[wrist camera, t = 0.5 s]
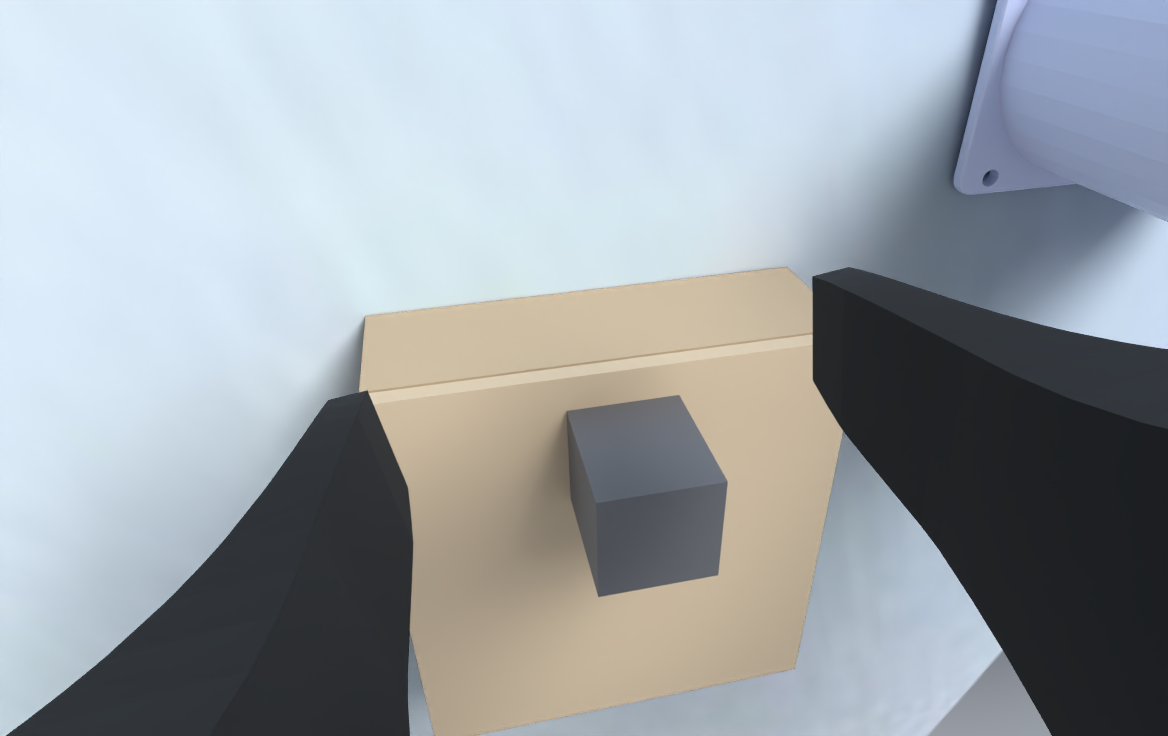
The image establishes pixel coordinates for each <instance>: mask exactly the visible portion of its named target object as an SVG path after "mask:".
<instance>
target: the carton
mask: <svg viewBox="0 0 1168 736" xmlns="http://www.w3.org/2000/svg"><path fill="white" fill-rule="evenodd" d="M811 334H813V291H812V290H811V289H810V288H809V287H808V286H807V285H806V284H805V283H804V282H803V281H802V280H801V279H799V278H798V277H797V276H796V275H795V274H794V273H793V272H792V271H791V270H790V269H789V268H788V267H782V268H774V269H765V270H757V271H748V272H739V273H731V274H722V275H714V276H705V277H696V278H688V279H679V280H671V281H662V282H654V283H645V284H636V285H628V286H619V287H611V288H602V289H594V290H585V291H576V292H568V293H559V294H551V295H542V296H534V297H525V298H516V299H508V300H499V301H491V302H482V303H474V304H465V305H456V306H448V307H439V308H431V309H422V310H414V311H405V312H396V313H388V314H379V315H371V316H365V328H364V339H363V351H362V362H361V374H360V386H359V392H363V391H366V390H368V393H374V392H382V391H389V390H397V389H404V388H412V387H419V386H427V385H434V384H442V383H449V382H457V381H464V380H472V379H480V378H487V377H495V376H502V375H510V374H517V373H525V372H532V371H540V370H547V369H555V368H562V367H570V366H578V365H585V364H593V363H600V362H608V361H615V360H623V359H630V358H638V357H645V356H653V355H660V354H668V353H676V352H683V351H691V350H698V349H706V348H713V347H721V346H728V345H736V344H743V343H751V342H758V341H766V340H774V339H781V338H789V337H796V336H804V335H811Z"/></svg>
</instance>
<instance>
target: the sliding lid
mask: <svg viewBox="0 0 1168 736" xmlns="http://www.w3.org/2000/svg"><path fill="white" fill-rule="evenodd" d="M369 395H370V397H371V400H372V402H373V405H374V407H375V409H376V412H377V414H378V417H379V419H380V421H381V424H382V426H383V429H384V431H385V433H386V436H387V438H388V441H389V443H390V445H391V448H392V450H393V453H394V455H395V457H396V460H397V462H398V464H399V467H400V469H401V472H402V474H403V476H404V479H405V481H406V484H407V486H408V491H409V500H410V510H411V520H412V532H413V569H412V593H411V614H410V634H411V638H412V642H413V647H414V651H415V655H416V660H417V664H418V668H419V672H420V677H421V681H422V685H423V690H424V694H425V698H426V703H427V707H428V711H429V716H430V720H431V724H432V729H433V733H434V736H475V735H480V734H485V733H489V732H494V731H499V730H504V729H509V728H514V727H518V726H523V725H528V724H533V723H538V722H542V721H547V720H552V719H557V718H562V717H566V716H571V715H576V714H581V713H586V712H590V711H595V710H600V709H605V708H610V707H614V706H619V705H624V704H629V703H634V702H639V701H643V700H648V699H653V698H658V697H663V696H667V695H672V694H677V693H682V692H687V691H691V690H696V689H701V688H706V687H711V686H715V685H720V684H725V683H730V682H735V681H739V680H744V679H749V678H754V677H759V676H763V675H768V674H773V673H778V672H783V671H788V670H792V669H795V667H796V662H797V657H798V652H799V647H800V642H801V637H802V632H803V627H804V622H805V617H806V612H807V607H808V602H809V597H810V592H811V587H812V582H813V578H814V573H815V568H816V563H817V558H818V553H819V548H820V543H821V538H822V533H823V528H824V523H825V518H826V513H827V508H828V503H829V498H830V493H831V489H832V484H833V479H834V474H835V469H836V464H837V459H838V454H839V449H840V444H841V439H842V434H843V430H842V429H841V427H840V426H839V424H838V422H837V421H836V419H835V418H834V416H833V414H832V413H831V411H830V410H829V408H828V406H827V405H826V403H825V401H824V399H823V398H822V396H821V394H820V392H819V391H818V389H817V387H816V385H815V384H814V382H813V334H811V335H804V336H796V337H789V338H781V339H774V340H766V341H758V342H751V343H743V344H736V345H728V346H721V347H713V348H706V349H698V350H691V351H683V352H676V353H668V354H660V355H653V356H645V357H638V358H630V359H623V360H615V361H608V362H600V363H593V364H585V365H578V366H570V367H562V368H555V369H547V370H540V371H532V372H525V373H517V374H510V375H502V376H495V377H487V378H480V379H472V380H464V381H457V382H449V383H442V384H434V385H427V386H419V387H412V388H404V389H397V390H389V391H382V392H374V393H369Z"/></svg>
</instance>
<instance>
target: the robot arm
mask: <svg viewBox="0 0 1168 736" xmlns="http://www.w3.org/2000/svg"><path fill="white" fill-rule="evenodd" d="M988 171H990V174H989V176H988V178H987V179H986V180H985V181H983V177H984V175H985V174H986V173H987V172H988ZM982 181H983V182H982ZM953 184H954V186H955V188H956V189H957V190H958V191H960V192H962V193H963V194H966V195H976V194H985V193H995V192H1004V191H1014V190H1023V189H1033V188H1042V187H1052V186H1062V185H1071V184H1079V185H1081V186H1084V187H1086V188H1089V189H1091V190H1093V191H1096V192H1098V193H1100V194H1103V195H1105V196H1108V197H1110V198H1112V199H1115V200H1117V201H1119V202H1122V203H1124V204H1127V205H1129V206H1131V207H1134V208H1136V209H1138V210H1141V211H1143V212H1146V213H1148V214H1150V215H1153V216H1155V217H1157V218H1160V219H1162V220H1165V221H1167V222H1168V0H997V4H996V8H995V12H994V16H993V20H992V24H991V28H990V32H989V36H988V40H987V44H986V49H985V53H984V57H983V61H982V65H981V69H980V73H979V77H978V81H977V85H976V89H975V93H974V97H973V101H972V105H971V110H970V114H969V118H968V122H967V126H966V130H965V134H964V138H963V142H962V146H961V150H960V154H959V158H958V162H957V166H956V171H955V175H954V182H953ZM812 284H813V382H814V384H815V385H816V387H817V389H818V391H819V392H820V394H821V396H822V398H823V399H824V401H825V403H826V405H827V406H828V408H829V410H830V411H831V413H832V414H833V416H834V418H835V419H836V421H837V422H838V424H839V426H840V427H841V429H842V430H843V431H844V432H845V434H846V435H847V436H848V437H849V439H850V440H851V441H852V442H853V444H854V445H855V446H856V447H857V449H858V450H859V451H860V452H861V454H862V455H863V456H864V457H865V459H866V460H867V461H868V462H869V463H870V465H871V466H872V467H873V468H874V470H875V471H876V472H877V473H878V474H879V476H880V477H881V478H882V479H883V480H884V482H885V483H886V484H887V485H888V486H889V488H890V489H891V490H892V491H893V493H894V494H895V495H896V496H897V497H898V499H899V500H900V501H901V502H902V503H903V505H904V506H905V507H906V508H907V509H908V511H909V512H910V513H911V514H912V516H913V517H914V518H915V519H916V520H917V522H918V523H919V524H920V525H921V526H922V528H923V529H924V530H925V532H926V533H927V534H928V536H929V537H930V538H931V540H932V541H933V542H934V544H935V545H936V546H937V548H938V549H939V550H940V552H941V553H942V555H943V557H944V558H945V560H946V561H947V563H948V564H949V566H950V567H951V569H952V570H953V572H954V573H955V575H956V576H957V578H958V579H959V581H960V583H961V584H962V586H963V587H964V589H965V590H966V592H967V593H968V595H969V596H970V598H971V599H972V601H973V602H974V604H975V606H976V607H977V609H978V611H979V612H980V614H981V615H982V617H983V619H984V620H985V622H986V624H987V625H988V627H989V628H990V630H991V632H992V633H993V635H994V637H995V638H996V640H997V641H998V643H999V645H1000V646H1001V648H1002V650H1003V651H1004V653H1005V654H1006V656H1007V658H1008V659H1009V661H1010V663H1011V665H1012V666H1013V668H1014V670H1015V672H1016V673H1017V675H1018V677H1019V679H1020V680H1021V682H1022V684H1023V686H1024V687H1025V689H1026V691H1027V693H1028V694H1029V696H1030V698H1031V700H1032V701H1033V703H1034V705H1035V706H1036V708H1037V710H1038V712H1039V713H1040V715H1041V717H1042V719H1043V720H1044V722H1045V724H1046V726H1047V728H1048V729H1049V731H1050V733H1051V735H1052V736H1168V349H1161V348H1154V347H1148V346H1142V345H1136V344H1130V343H1124V342H1119V341H1114V340H1109V339H1104V338H1099V337H1094V336H1089V335H1084V334H1079V333H1074V332H1069V331H1065V330H1060V329H1056V328H1052V327H1048V326H1044V325H1040V324H1036V323H1032V322H1029V321H1025V320H1021V319H1018V318H1014V317H1010V316H1007V315H1003V314H999V313H996V312H993V311H989V310H986V309H983V308H979V307H976V306H973V305H969V304H966V303H963V302H960V301H957V300H954V299H951V298H948V297H944V296H941V295H938V294H935V293H932V292H929V291H926V290H923V289H920V288H917V287H914V286H911V285H908V284H905V283H902V282H899V281H896V280H893V279H890V278H887V277H883V276H880V275H877V274H874V273H870V272H867V271H863V270H859V269H854V268H850V267H848V268H844V269H840V270H836V271H832V272H828V273H824V274H820V275H816V276H813V277H812ZM412 569H413V532H412V520H411V510H410V500H409V491H408V486H407V484H406V481H405V479H404V476H403V474H402V472H401V469H400V467H399V464H398V462H397V460H396V457H395V455H394V453H393V450H392V448H391V445H390V443H389V441H388V438H387V436H386V433H385V431H384V429H383V426H382V424H381V421H380V419H379V417H378V414H377V412H376V409H375V407H374V405H373V402H372V400H371V397H370V395H369V393H368V390H366V391H363V392H359V393H355V394H351V395H347V396H343V397H339V398H335V399H331V400H328V401H327V403H326V404H325V405H324V406H323V408H322V409H321V411H320V412H319V413H318V415H317V416H316V418H315V419H314V421H313V422H312V423H311V425H310V426H309V428H308V429H307V431H306V432H305V434H304V435H303V437H302V438H301V439H300V441H299V442H298V444H297V445H296V447H295V448H294V450H293V451H292V452H291V454H290V455H289V457H288V458H287V459H286V461H285V462H284V464H283V465H282V466H281V468H280V469H279V471H278V472H277V473H276V475H275V476H274V478H273V479H272V480H271V482H270V483H269V485H268V486H267V487H266V489H265V490H264V491H263V492H262V494H261V495H260V496H259V497H258V499H257V500H256V501H255V502H254V504H253V505H252V506H251V507H250V509H249V510H248V511H247V512H246V514H245V515H244V516H243V517H242V519H241V520H240V521H239V522H238V524H237V525H236V526H235V527H234V529H233V530H232V531H231V533H230V534H229V535H228V536H227V537H226V539H225V540H224V541H223V542H222V543H221V544H220V546H219V547H218V548H217V549H216V550H215V551H214V552H213V553H212V555H211V556H210V557H209V558H208V559H207V560H206V561H205V562H204V563H203V564H202V565H201V567H200V568H199V569H198V570H197V571H196V572H195V573H194V574H193V575H192V576H191V577H190V578H189V579H188V580H187V581H186V582H185V583H184V584H183V585H182V586H181V587H180V588H179V589H178V590H177V592H176V593H175V594H174V595H172V596H171V597H170V598H169V599H168V600H167V601H166V602H165V603H164V604H163V605H162V606H161V607H160V608H159V609H158V610H157V611H156V612H155V613H153V614H152V615H151V616H150V617H149V618H148V619H147V620H146V621H145V622H144V623H142V624H141V625H140V626H139V627H138V628H137V629H136V630H135V631H134V632H133V633H132V634H130V635H129V636H128V637H127V638H126V639H125V640H124V641H123V642H122V643H121V644H119V645H118V646H117V647H116V648H115V649H114V650H113V651H112V652H111V653H110V654H109V655H107V656H106V657H105V658H104V659H103V660H101V661H100V662H99V663H98V664H97V665H96V666H94V667H93V668H92V669H91V670H89V671H88V672H87V673H86V674H85V675H83V676H82V677H81V678H80V679H79V680H77V681H76V682H75V683H74V684H72V685H71V686H70V687H69V688H68V689H66V690H65V691H64V692H62V693H61V694H60V695H59V696H57V697H56V698H55V699H53V700H52V701H51V702H50V703H48V704H47V705H46V706H45V707H43V708H42V709H41V710H39V711H38V712H37V713H36V714H34V715H33V716H32V717H30V718H29V719H28V720H26V721H25V722H24V723H22V724H21V725H20V726H18V727H17V728H16V729H14V730H13V731H12V732H10V733H9V734H8V735H6V736H410V731H409V715H408V656H409V635H410V614H411V593H412Z"/></svg>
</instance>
